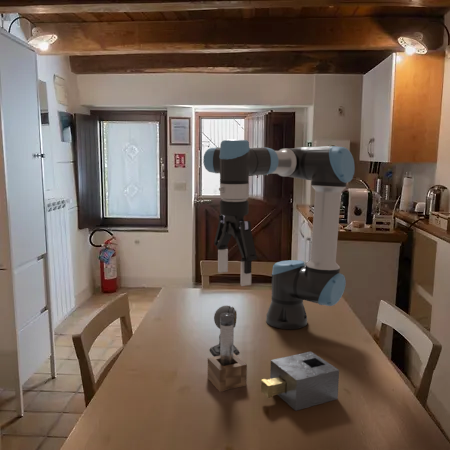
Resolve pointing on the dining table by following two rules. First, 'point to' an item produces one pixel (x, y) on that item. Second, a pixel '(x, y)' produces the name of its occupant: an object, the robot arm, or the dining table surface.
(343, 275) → the robot arm
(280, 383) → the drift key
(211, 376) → the open box
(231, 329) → the steel round rod
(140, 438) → the dining table surface
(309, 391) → the socket
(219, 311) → the figurine
